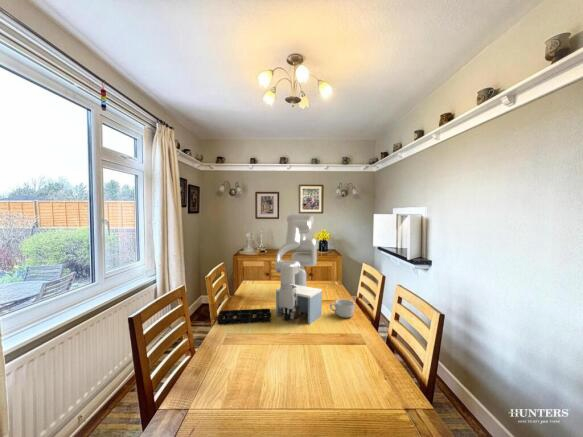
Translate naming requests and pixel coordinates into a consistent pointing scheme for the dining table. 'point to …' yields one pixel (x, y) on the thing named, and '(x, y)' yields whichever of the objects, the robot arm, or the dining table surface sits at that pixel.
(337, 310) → the teacup
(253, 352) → the dining table surface
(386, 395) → the dining table surface
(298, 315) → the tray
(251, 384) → the dining table surface
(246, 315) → the egg carton
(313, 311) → the white step stool
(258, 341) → the dining table surface
